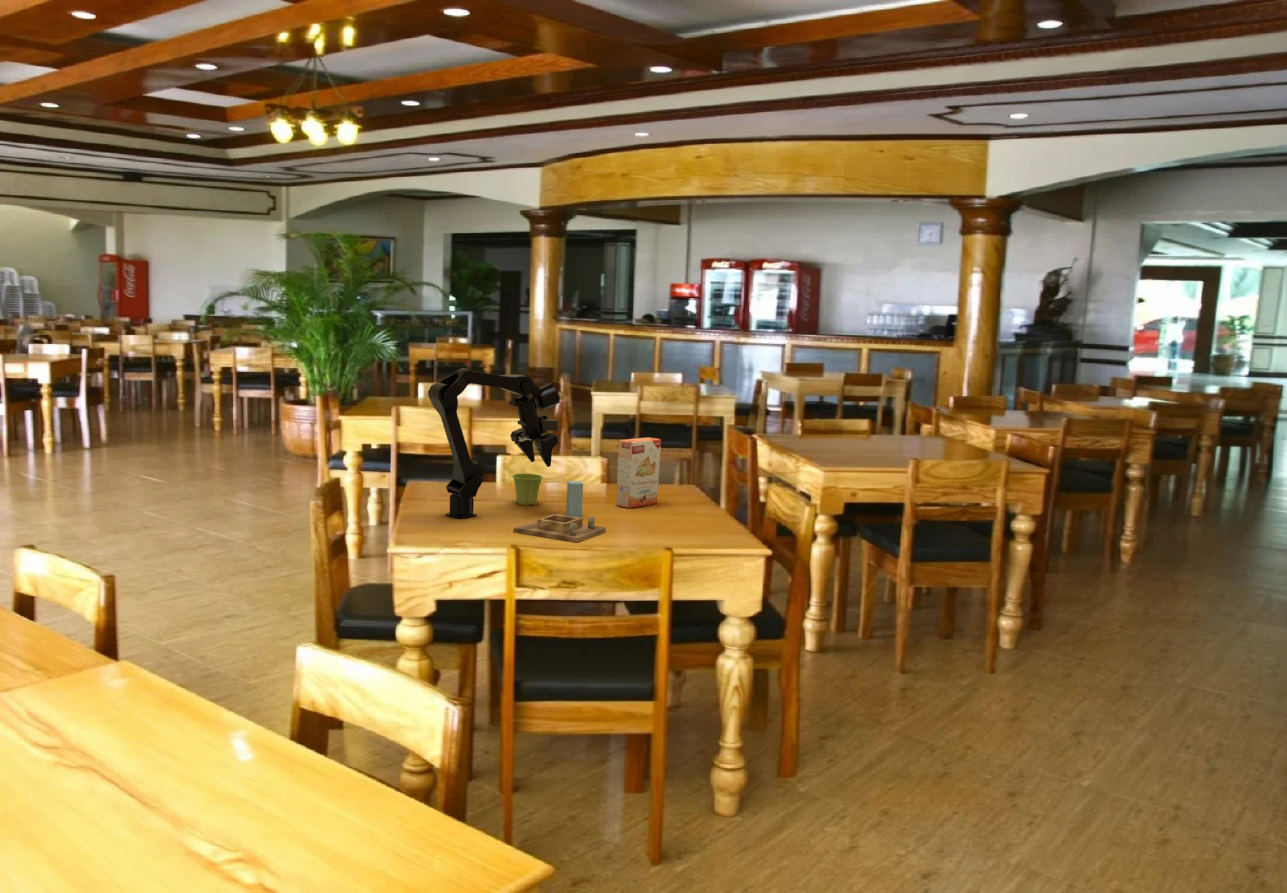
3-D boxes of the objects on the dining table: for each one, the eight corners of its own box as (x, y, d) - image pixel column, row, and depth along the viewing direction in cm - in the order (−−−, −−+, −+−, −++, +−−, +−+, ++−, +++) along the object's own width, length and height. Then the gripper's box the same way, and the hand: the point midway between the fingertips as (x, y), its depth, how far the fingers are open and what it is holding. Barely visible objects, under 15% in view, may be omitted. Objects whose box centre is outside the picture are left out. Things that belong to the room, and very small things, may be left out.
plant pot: (544, 501, 337) (545, 474, 335) (538, 507, 327) (539, 479, 326) (515, 499, 338) (516, 472, 336) (508, 505, 328) (509, 477, 327)
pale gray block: (568, 517, 316) (569, 483, 314) (566, 514, 320) (567, 481, 318) (581, 517, 317) (583, 483, 315) (579, 514, 320) (580, 481, 319)
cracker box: (629, 509, 331) (632, 442, 328) (615, 506, 335) (618, 439, 332) (658, 503, 342) (662, 438, 339) (644, 500, 346) (647, 436, 343)
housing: (513, 532, 293) (513, 517, 292) (543, 522, 307) (544, 507, 307) (577, 542, 284) (577, 527, 284) (605, 531, 299) (606, 517, 298)
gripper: (567, 410, 316) (579, 459, 321) (534, 403, 330) (546, 450, 335) (536, 423, 310) (549, 472, 315) (504, 415, 325) (516, 463, 330)
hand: (541, 464), depth 324 cm, fingers open, 9 cm apart
